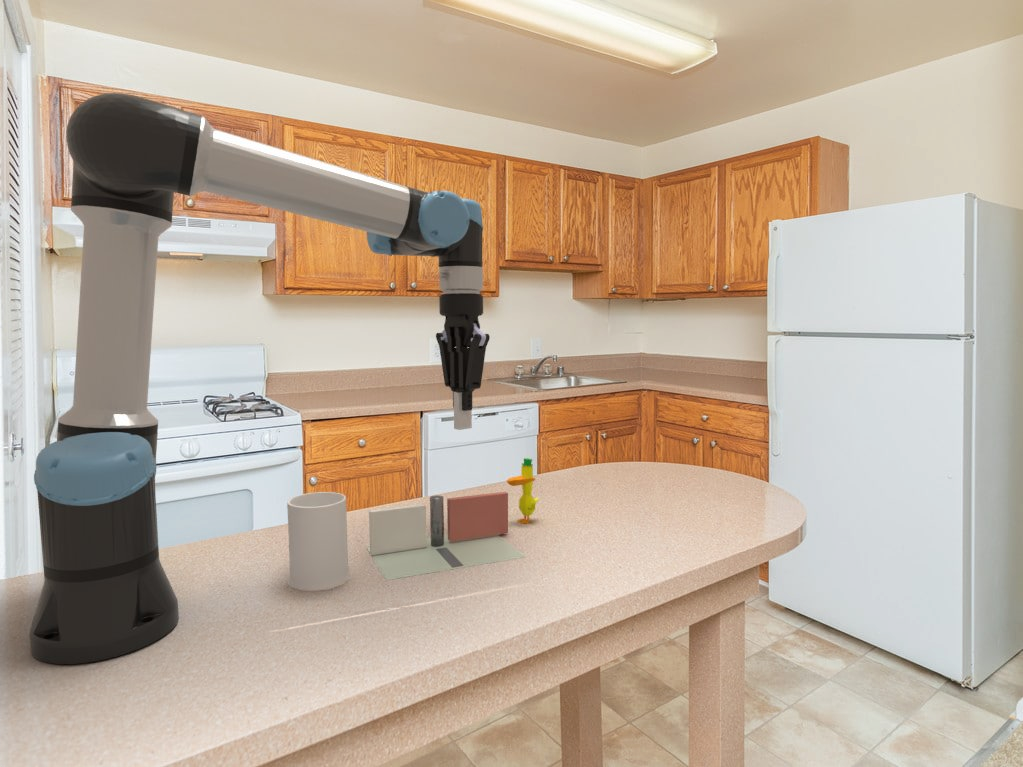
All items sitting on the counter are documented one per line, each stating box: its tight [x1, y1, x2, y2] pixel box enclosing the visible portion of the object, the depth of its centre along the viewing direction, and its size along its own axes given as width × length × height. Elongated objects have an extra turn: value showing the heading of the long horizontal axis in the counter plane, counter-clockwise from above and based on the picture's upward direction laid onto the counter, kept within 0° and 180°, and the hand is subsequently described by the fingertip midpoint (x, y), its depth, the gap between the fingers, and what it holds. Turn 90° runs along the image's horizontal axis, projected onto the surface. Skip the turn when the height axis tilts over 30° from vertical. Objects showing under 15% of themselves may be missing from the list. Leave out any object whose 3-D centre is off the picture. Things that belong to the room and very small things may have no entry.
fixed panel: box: [368, 503, 427, 557], centre depth 104 cm, size 9×1×7 cm, turn 113°
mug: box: [286, 491, 351, 592], centre depth 94 cm, size 12×8×12 cm
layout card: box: [365, 534, 526, 581], centre depth 104 cm, size 22×15×1 cm
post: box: [429, 494, 445, 547], centre depth 106 cm, size 2×2×8 cm
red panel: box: [446, 491, 509, 542], centre depth 109 cm, size 10×1×7 cm, turn 114°
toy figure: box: [506, 457, 540, 525], centre depth 118 cm, size 7×4×12 cm, turn 121°
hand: (462, 428), depth 113 cm, fingers closed
